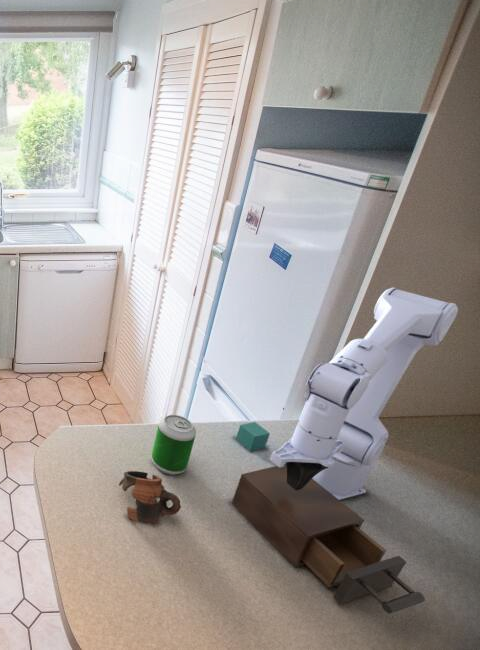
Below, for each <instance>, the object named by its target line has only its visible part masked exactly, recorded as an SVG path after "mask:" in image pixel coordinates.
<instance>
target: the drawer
mask: <svg viewBox="0 0 480 650" xmlns="http://www.w3.org/2000/svg"><path fill="white" fill-rule="evenodd" d="M386 552H387V549H386V548H384V547H383V546H382V545H381V544H380V543H378V542H377V541H376V540H375V539H373V538H372V537H371V536H369V535H368V534H367V533H366V532H365V531H364V530H362V529H361V527H360V528H358V527H357V526H356V525H354V526H351V527H348V528H344V529H341V530H337V531H334V532H331V533H327V534H324V535H320V536H317V537H313V538H311V539H310V541H309V544H308V546H307V548H306V550H305V552H304V554H303V556H302V559H301V560H302V561H303V562H304V563H305V564H304V565H306V566H307V568H309V570H311V571H312V572H313V574H315V575H316V576H317V577H318V578H319V579H320V580H321V582H323V583H324V585H325V586H327V587H328V588H332V587H335V586H338V588H337V589H336V591H335V593H334V595H333V597H332V598H333V599H334V600H335V601H336V602H337V603H338V604H339V605H341V604H346V603H347V602H351V601H353V600H357V599H359V598H362V597H365V596H368V595H371V596H372V597H373V598H374V599H375V600H376V601H377V602H379V604H380V605H381V609H382V610H383V611H384V612H385V613H387V614H388V615H389V614H390V615H391V614H393V613H397V612H399V611H401V610H404V609H408V608H410V607H413V606H415V605H418V604H422V603H424V602H425V601H426V599H425V598H426V597H425V596H424V595H423V593H421V592H419V591H415V590H413V589H412V587H410V586H409V585H408V584H406V583H405V582H404V581H403V580H402V579H401V578H399V575H400V574H401V572H402V570H403V568H404V567H405V565H406V563H407V561H406V560H405V559H404V558H402V557H401V556H400V555H396V556H393V557H390V558H387V559H384V560H382V559H383V557H384V556H385V553H386ZM395 583H396V584H397V585H398V586H400V587H401V588H402V589H403V590H404V591H405V592H406V593H407V594H404V595H401V596H399V597H395V598H393V599H390V600H387V601H386V600H385V599H384V598H383V597H382V596H381V595H380V594H379V593H377V592H380V591H382V590H386V589H389V588H391V587H392V586H393V584H395Z"/></svg>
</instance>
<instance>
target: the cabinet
mask: <svg viewBox="0 0 480 650" xmlns="http://www.w3.org/2000/svg"><path fill="white" fill-rule="evenodd" d="M237 483H238V484H237V486H236V489H235V492H234V495H233V498H232V501H231V504H232V506H233V507H234V508H235V509H236V510H237V511H238V512H239V513H240V514H241V515H242V516H243V517H244V518H245V519H246V520H247V521H248V522H249V523H250V524H251V525H252V526H253V527H254V528H255V530H257V531H258V532H259V533H260V534H261V535H262V536H263V537H264V538H265V539H266V540H267V541H268V542H269V543H270V544H271V546H273V547H274V549H276V551H278V552H279V553H280V554H281V555H282V556H283V557H284V559H286V560H287V562H288V563H289V564H290V565H291V566H292V567H293V568H297V567H301V566H304V565H306V564H305V563H304V562H303V561H302V560H301V559H302V556H303V554H304V552H305V550H306V548H307V546H308V544H309V541H310V539H311V538H313V537H317V536H320V535H324V534H327V533H331V532H334V531H337V530H341V529H344V528H348V527H351V526H354V525H356V526H357V527H358V528H360V529H361V527H362V526H363V524H364V522H365V519H364V518H363V517H362V516H361V515H359V514H358V513H356V512H355V511H354V510H353V509H351V508H350V507H349V506H347V505H346V504H345V503H344V502H343V501H341V500H339V499H337V498H336V497H335V496H334V495H332V494H331V493H330V492H329V491H327V490H326V489H325V488H323V487H322V486H321V485H320V484H318V483H317V482H316V481H315V480H313V479H311V480H310V481H309V482H308V483H307V484H306V485H305V486H304V487H303V488H302V489H300V490H295V489H293V488H292V487H291V486H290V485H289V484H287V467H286V463H285V464H284V466H283V467H280V468H279V467H278V466H277V465H274V466H269V467H266V468H262V469H261V468H260V469H257V470H254V471H248V472H245V473H242V474H240V478H239V481H238V482H237Z"/></svg>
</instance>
